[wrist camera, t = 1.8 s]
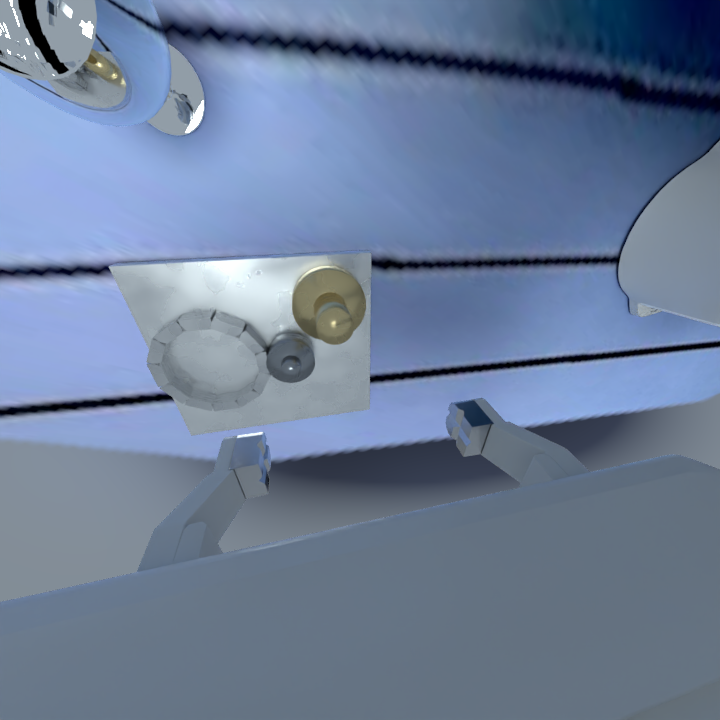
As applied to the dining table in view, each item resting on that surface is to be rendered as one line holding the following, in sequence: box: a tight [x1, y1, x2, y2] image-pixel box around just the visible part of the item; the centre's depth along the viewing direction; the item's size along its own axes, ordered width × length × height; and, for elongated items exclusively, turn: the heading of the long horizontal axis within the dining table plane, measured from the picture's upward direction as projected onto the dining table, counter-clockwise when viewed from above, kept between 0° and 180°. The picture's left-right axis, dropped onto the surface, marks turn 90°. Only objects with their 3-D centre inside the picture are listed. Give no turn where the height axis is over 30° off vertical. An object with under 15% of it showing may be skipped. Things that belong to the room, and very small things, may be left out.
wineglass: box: [0, 0, 205, 136], centre depth 12 cm, size 6×6×12 cm
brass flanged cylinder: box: [292, 265, 366, 345], centre depth 23 cm, size 6×6×6 cm
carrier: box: [109, 250, 371, 435], centre depth 26 cm, size 20×18×4 cm
